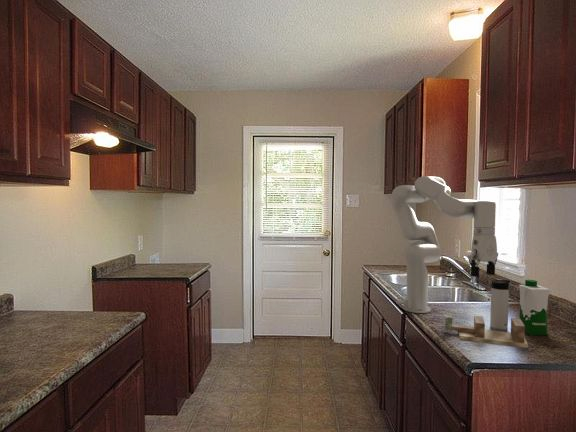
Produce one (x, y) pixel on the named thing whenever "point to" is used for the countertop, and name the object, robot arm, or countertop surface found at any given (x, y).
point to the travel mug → (499, 305)
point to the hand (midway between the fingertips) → (482, 275)
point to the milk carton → (534, 307)
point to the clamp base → (501, 335)
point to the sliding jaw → (477, 329)
